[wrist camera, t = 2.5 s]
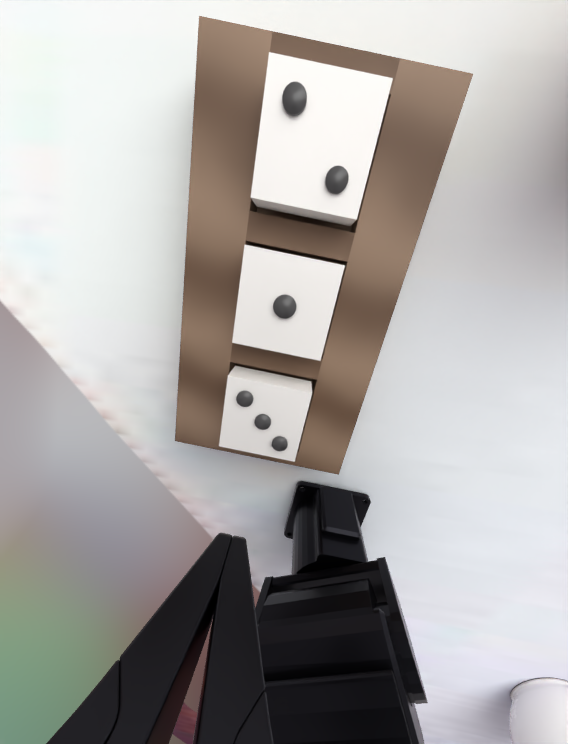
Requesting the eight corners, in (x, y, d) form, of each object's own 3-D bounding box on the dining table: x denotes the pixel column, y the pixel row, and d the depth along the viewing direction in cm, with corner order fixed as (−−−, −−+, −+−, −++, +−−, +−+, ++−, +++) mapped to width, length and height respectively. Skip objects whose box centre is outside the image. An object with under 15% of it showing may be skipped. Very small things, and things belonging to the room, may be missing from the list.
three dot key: (295, 445, 19) (294, 463, 17) (226, 430, 19) (217, 448, 17) (311, 381, 17) (312, 394, 15) (235, 365, 17) (226, 376, 15)
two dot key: (350, 226, 14) (357, 218, 12) (256, 207, 14) (249, 196, 12) (380, 105, 12) (394, 74, 10) (273, 83, 12) (268, 47, 10)
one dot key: (318, 351, 16) (320, 362, 14) (239, 335, 16) (231, 343, 14) (340, 266, 15) (345, 265, 13) (251, 248, 15) (243, 244, 13)
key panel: (333, 448, 22) (338, 474, 19) (191, 419, 22) (175, 440, 19) (439, 113, 14) (473, 73, 11) (219, 67, 14) (199, 15, 11)
